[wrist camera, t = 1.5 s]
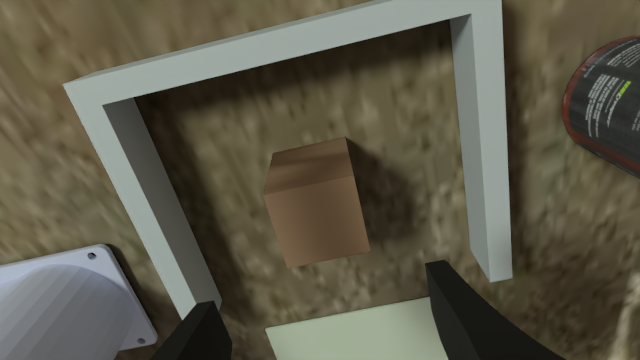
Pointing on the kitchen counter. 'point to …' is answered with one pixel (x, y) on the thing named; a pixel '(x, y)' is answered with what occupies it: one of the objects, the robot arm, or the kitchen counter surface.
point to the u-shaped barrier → (279, 44)
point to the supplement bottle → (607, 104)
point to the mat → (363, 335)
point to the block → (315, 203)
